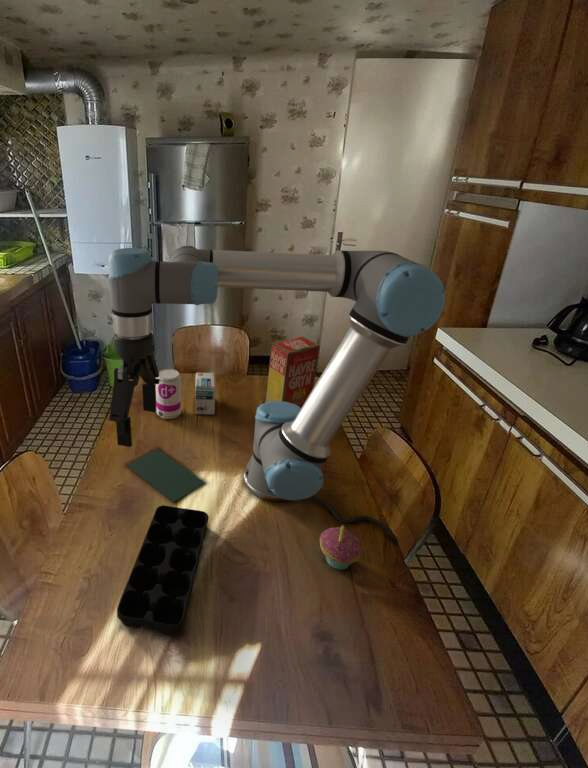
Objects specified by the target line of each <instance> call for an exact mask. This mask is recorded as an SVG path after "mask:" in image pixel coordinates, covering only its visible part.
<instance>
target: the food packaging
mask: <svg viewBox="0 0 588 768" xmlns="http://www.w3.org/2000/svg"><path fill="white" fill-rule="evenodd" d="M320 347H321V345H320V344H319V343H317V342H315V341H313V340H311V339H309V338H307V337H305V336H297V337H294V338H290V339H286V340H281V341H275V342H271V347H270V355H269V364H268V365H269V366H268V375H267V384H266V385H267V386H266V396H265V403H266V402H271V401H283V402H289V403H292V404H295V405H297V406H299V407H300V408H302V406H303V405H304V403H305V401H306V400H307V398H308V396H309V395H310V393H311V391H312V390H313V388H314V386H315V380H316V374H317V367H318V361H319V355H320Z"/></svg>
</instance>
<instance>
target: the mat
mask: <svg viewBox="0 0 588 768" xmlns="http://www.w3.org/2000/svg"><path fill="white" fill-rule="evenodd" d="M126 466H127V468H129V469H130V470H132V471H133V472H134V473H135V474H137V475H138V476H139V477H140V478H142V479H143V480H144V481H146V482H147V483H148V484H149V485H151V486H152V487H153V488H154V489H155V490H157V491H158V492H159V493H160V494H162V495H163V496H164V497H165V498H166V499H168V500H169V501H170V502H172V504H174V503H176V502H178V501H179V500H181V499H182V498H183V497H185V496H187V495H188V494H190V493H191V492H193V491H194V490H196V489H198V488H199V487H200V486H202V485H204V484H205V483H206V482H205V481H204V480H203V479H201V478H199V477H198V476H197V475H195V474H194V473H193V472H192V471H190V470H189V469H187V468H186V467H184V466H183V465H181V464H180V463H179V462H177V461H176V460H174V459H172V458H171V457H170V456H169V455H167V454H166V453H164V452H162V451H161V450H160V449H158V448H156V449H154V450H152V451H150V452H149V453H146V454H144V455H143V456H141V457H139V458H136V459H135V460H134V461H131V462H130V463H128V464H126Z"/></svg>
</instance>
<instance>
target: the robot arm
mask: <svg viewBox="0 0 588 768" xmlns="http://www.w3.org/2000/svg"><path fill="white" fill-rule="evenodd" d="M108 283H109V294H110V295H109V296H110V305H111V314H110V319H112V329H113V330H112V331H113V333H114V334H113V350H114V353H115V354H116V355H117V356H118V357H120V358H121V359H122V360H121V365H120V368H119V367H115V368H114V370H113V385H112V394H111V400H110V401H111V402H110V410H109V415H108V416H109V417H108V420H109V421H110V422H115V426H116V427H115V429H116V440H117V446H122V447H127V448H131V447H132V446H133V440H132V422H131V416H129V414H130V410H131V405H132V402H133V401H132V400H133V396H134V392H135V388H136V387H137V386H138V385H139V381H140V378H141V379H142V381H143V382H144V383H143V384H142V385H141V386H142V387H141V388H142V389H141V390H142V409H143V411H144V412H151V413H156V412H157V406H156V384H159V379H156V378H158V376H159V369H158V365H157V362H156V357H155V355H154V350H155V349H154V347H155V346H154V334H153V332H154V316H153V311H154V310H153V304H157V305H159V304H161V305H164V304H165V305H195V306H200V305H212V304H214V303H215V302H216V301H217V298H218V290H219V289H218V288H230V289H232V288H233V289H254V290H274V291H275V290H277V291H278V290H279V291H299V292H300V291H301V292H319V293H320V292H324V293H327V294H328V295H329V296H330V297H331V298H343V299H348V300H351V301H354V305H353V306H352V308H351V310H350V312H349V313H348V319H349V324H350V326H349V329H348V331H347V332H346V334H345V336H343V339H342V341H341V342H340V344H339V345H338V347H337V349H336V350H335V351H334V354H332V356H331V358H330V360H329V362H328V363H327V364H326V367H324V370H323V371H322V373H321V374H320V376H319V378H318V379H317V382H316V383H315V384H314V386H313V390H312V391H311V393H310V395H309V396H308V398H307V400H306V401H305V403H304V405H303V406H302V408H300V407H299V406H297V405H295V404H292V403H289V402H283V401H271V402H266V401H265V402H264V403H262V404H260V405H259V406H258V407H257V408H256V412H255V416H254V419H255V420H254V421H255V422H254V423H255V424H254V433H253V435H254V436H253V437H254V438H253V448H252V455H251V457H250V459H249V461H248V463H247V465H246V466H245V469H244V471H243V472H244V473H243V483H244V485H245V488H246V489H247V490H248V491H249V492H250V493H251V494H253V495H254V496H256V497H257V498H260V499H262V500H265V501H270V502H286V501H295V502H296V501H301V500H306V499H309V498H310V499H312V500H314V501H316V502H317V503H320V504H321V505H323V506H325V507H326V508H327V509H328V510H329V511H330V512H331V514H332V515H333V516H334V518H335V519H336V520H337V521H339V522H341V523H344V524H353V523H357V522H359V521H368V522H371V523H374V524H376V525H378V526H380V527H381V528H383V529H384V530H385V531H386V532H387V533H388V535H389V536H390V537H391V539H392V540H393V542H395V543H399V539H398V538H397V536H396V535H395V534H394V532H393V531H392V529H390V527H388V526H387V525H386V524H385V523H384V522H382V521H380V520H379V519H377V518H374V517H372V516H367V515H358V516H357V517H354V518H350V519H348V518H347V519H346V518H344V517H341V516H340V515H339V514H338V513H337V511H336V510H335V508H334V507H333V506H332V505H331V504H330V503H328V502H327V501H325V500H323V499H321V498H319V497H318V496H316V494H317V493H318V492H319V491H321V489H322V488H323V487H322V486H323V484H324V473H323V471H322V468H323V466H324V465H325V463H326V462H327V461H328V459H329V458H330V457H331V453H332V449H331V446H330V442H331V441H332V439H333V438H334V437H335V435H336V433H337V432H338V430H339V429H340V427H341V426H342V425H343V423H344V421H345V420H346V419H347V417H348V415H349V414H350V412H352V409H353V408H354V407H355V404H357V402H358V400H359V399H360V398H361V396H362V394H363V393H364V392H365V390H366V389H367V387H368V385H370V382H371V381H372V379H373V378H374V376H375V375H376V374H377V372H378V370H379V369H380V367H381V366H382V365H383V364H384V361H385V360H386V358H387V357H388V355H389V354H390V352H391V351H392V350H393V349H394V348H397V347H401V346H405V345H406V344H407V342H408V341H409V339H410V338H411V336H417V335H419V334H420V333H421V332H426V331H427V330H429V329H430V328H432V326H434V325H435V324H436V323H437V321H438V320H439V318H440V317H441V315H442V313H443V311H444V307H445V303H446V291H445V287H444V284H443V282H442V280H441V278H440V277H439V276H438V275H437V274H436V273H435V272H433V271H432V270H430V269H429V268H428V267H427V266H425V265H424V264H422V263H418V262H415V261H413V260H411V259H409V258H406V257H404V256H402V255H400V254H398V253H396V252H393V251H388V250H339V249H338V250H337V249H336V250H335V251H334V252H333V253H332V254H317V253H316V254H315V253H313V254H312V253H293V252H291V253H290V252H268V251H247V250H245V251H244V250H225V249H224V250H222V249H202V248H197V247H195V246H192V245H189V244H188V245H182V246H179V247H177V248H176V249H174V251H173V252H172V253H171V254H170V257H169V258H168V261H156V260H153V258H152V256H151V252H150V251H149V250H148V249H146V248H137V247H124V248H123V247H122V248H117V249H114V250H113V251H111V253H109V255H108Z"/></svg>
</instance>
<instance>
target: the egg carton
mask: <svg viewBox="0 0 588 768" xmlns="http://www.w3.org/2000/svg"><path fill="white" fill-rule="evenodd" d="M208 522H209V514H208V513H207V512H206V511H204V510H197V509H191V508H184V507H176V506H170V505H166V504H165V505H163V504H162V505H159V506H157V508H156V509H155V511H154V514H153V516H152V518H151V522H150V524H149V527H148V529H147V531H146V534H145V536H144V539H143V542H142V544H141V546H140V549H139V552H138V554H137V556H136V559H135V561H134V564H133V567H132V569H131V572H130V574H129V577H128V580H127V582H126V584H125V587H124V589H123V592H122V595H121V597H120V600H119V602H118V604H117V608H116V616H117V619H118V620H119V621H120V622H121V624H123V626H126V627H127V628H133V629H141V628H143V627H146V628H149V629H154V630H155V632H156V633H157V634H159V635H163V636H168V637H177V635H179V634H180V633H181V631H182V628H183V627H184V624H185V621H186V619H187V614H188V610H189V605H190V600H191V597H192V593H193V589H194V584H195V579H196V574H197V571H198V568H199V563H200V561H201V560H200V558H201V555H202V551H203V546H204V541H205V538H206V532H207V528H208V524H209V523H208Z"/></svg>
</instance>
